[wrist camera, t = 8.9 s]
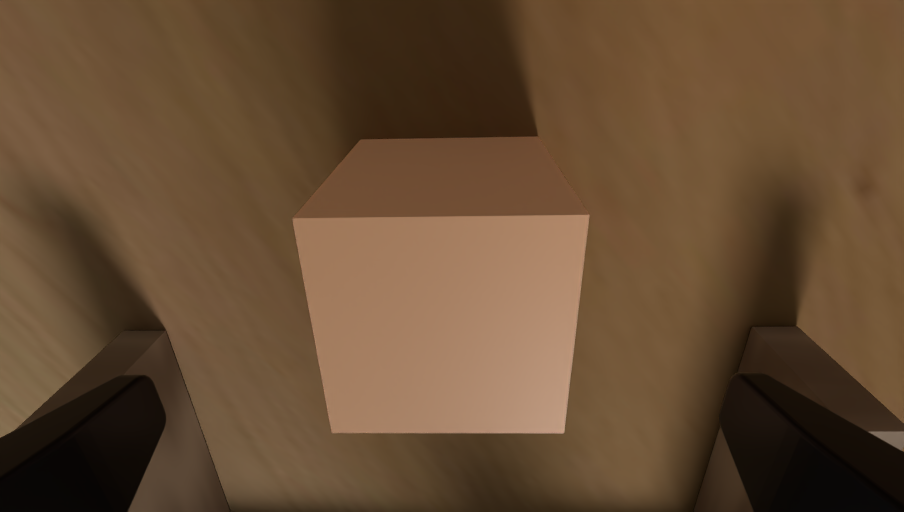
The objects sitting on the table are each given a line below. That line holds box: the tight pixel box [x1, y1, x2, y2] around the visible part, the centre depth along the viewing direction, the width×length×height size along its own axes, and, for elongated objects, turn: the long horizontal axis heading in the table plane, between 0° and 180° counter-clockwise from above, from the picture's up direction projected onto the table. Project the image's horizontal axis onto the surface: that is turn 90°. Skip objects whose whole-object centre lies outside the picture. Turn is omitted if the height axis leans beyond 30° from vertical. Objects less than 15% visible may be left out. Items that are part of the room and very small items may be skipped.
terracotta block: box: [292, 136, 589, 433], centre depth 12 cm, size 5×5×6 cm
